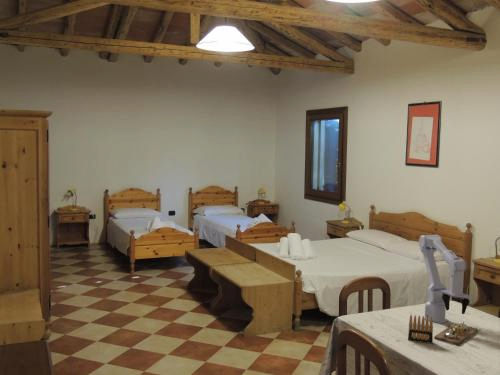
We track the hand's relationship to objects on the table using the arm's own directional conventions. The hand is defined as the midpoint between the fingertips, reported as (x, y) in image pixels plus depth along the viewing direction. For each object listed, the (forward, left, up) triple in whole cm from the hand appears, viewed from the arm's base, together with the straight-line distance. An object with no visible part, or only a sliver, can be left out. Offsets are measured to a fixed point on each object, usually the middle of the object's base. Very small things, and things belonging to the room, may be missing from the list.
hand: (455, 311), depth 244 cm
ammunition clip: (-6, -24, -10) cm, 27 cm away
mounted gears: (+3, -5, -8) cm, 10 cm away
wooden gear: (+3, -5, -8) cm, 10 cm away
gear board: (+3, -5, -9) cm, 11 cm away
